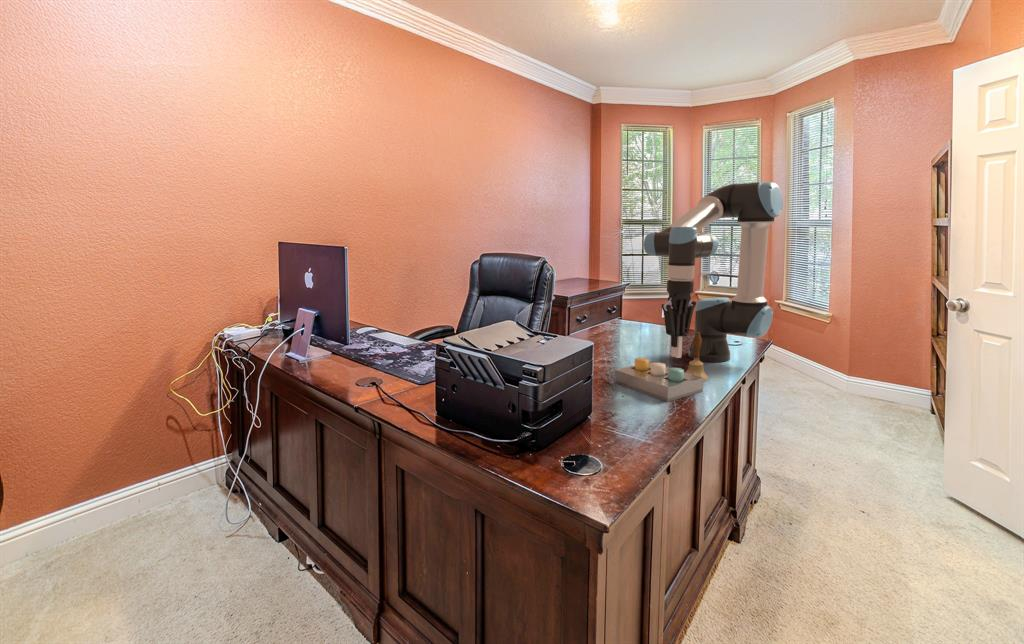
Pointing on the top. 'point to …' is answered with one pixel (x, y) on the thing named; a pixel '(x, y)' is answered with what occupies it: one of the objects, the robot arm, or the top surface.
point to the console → (658, 383)
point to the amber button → (641, 364)
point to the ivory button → (658, 369)
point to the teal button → (675, 375)
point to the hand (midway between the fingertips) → (676, 356)
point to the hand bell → (697, 359)
